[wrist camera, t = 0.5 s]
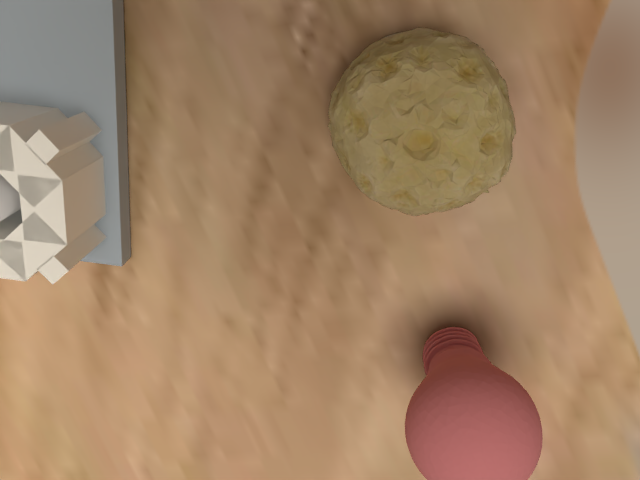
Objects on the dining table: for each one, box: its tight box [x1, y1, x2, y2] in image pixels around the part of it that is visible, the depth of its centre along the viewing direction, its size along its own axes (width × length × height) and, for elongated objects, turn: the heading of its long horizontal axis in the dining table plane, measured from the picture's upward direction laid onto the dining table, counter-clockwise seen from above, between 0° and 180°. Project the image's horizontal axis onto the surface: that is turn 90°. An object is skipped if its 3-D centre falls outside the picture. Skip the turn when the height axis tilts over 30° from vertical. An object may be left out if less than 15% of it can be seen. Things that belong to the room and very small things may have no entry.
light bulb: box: [405, 327, 542, 480], centre depth 35 cm, size 7×7×12 cm
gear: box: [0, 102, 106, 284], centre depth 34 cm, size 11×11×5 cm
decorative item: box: [328, 27, 516, 216], centre depth 32 cm, size 10×10×10 cm
